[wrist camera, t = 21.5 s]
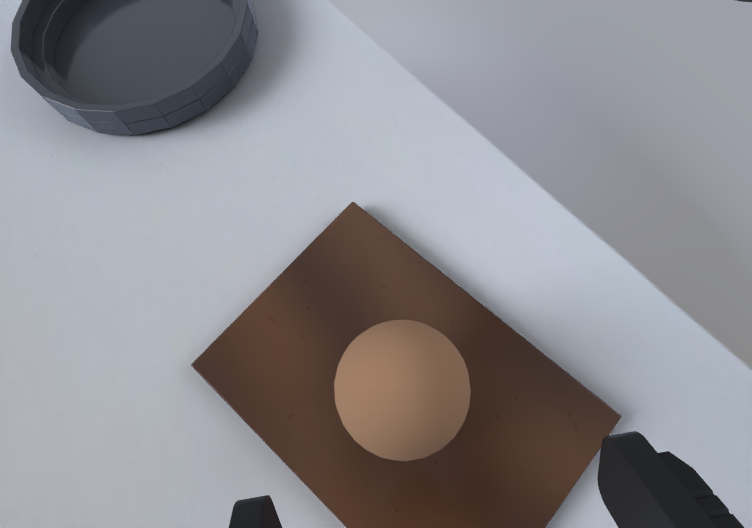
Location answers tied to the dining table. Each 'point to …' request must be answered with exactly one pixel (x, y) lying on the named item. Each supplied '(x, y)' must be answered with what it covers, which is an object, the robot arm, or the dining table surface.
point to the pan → (132, 58)
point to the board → (486, 376)
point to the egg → (402, 390)
